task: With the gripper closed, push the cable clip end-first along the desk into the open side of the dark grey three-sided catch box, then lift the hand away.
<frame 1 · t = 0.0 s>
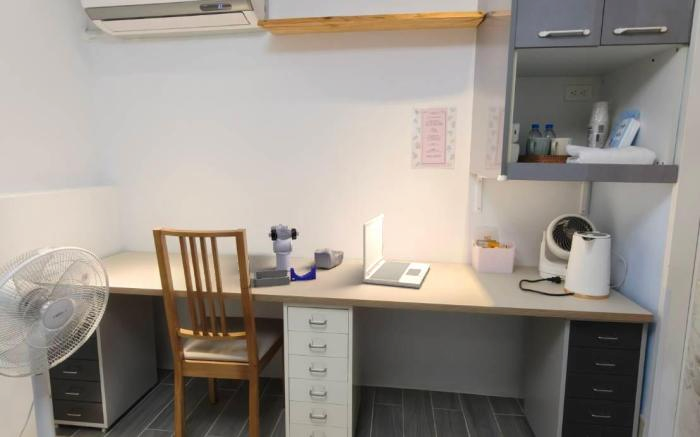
hand: (284, 235, 188), 22 cm above the table, tool horizontal, fingers open, 7 cm apart
laptop: (398, 276, 198), on the table
grey rounded block: (329, 265, 218), on the table
cable clip: (303, 279, 193), on the table
catch box: (271, 281, 190), on the table
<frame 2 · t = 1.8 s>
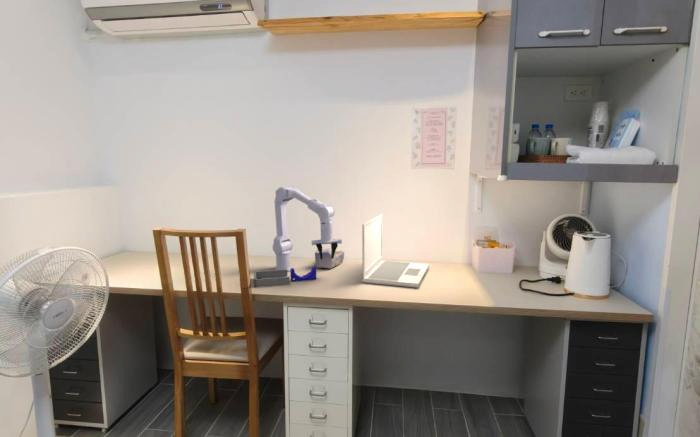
hand: (326, 258, 195), 9 cm above the table, tool pointing down, fingers open, 5 cm apart
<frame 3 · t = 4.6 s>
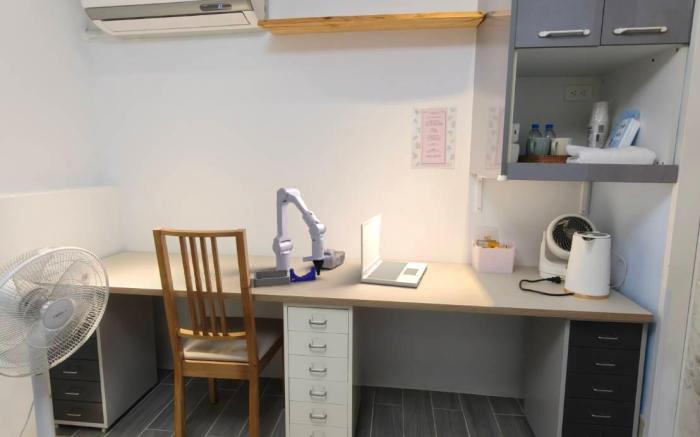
hand: (318, 275, 195), 1 cm above the table, tool pointing down, fingers closed
cable clip: (302, 280, 192), on the table, touching gripper
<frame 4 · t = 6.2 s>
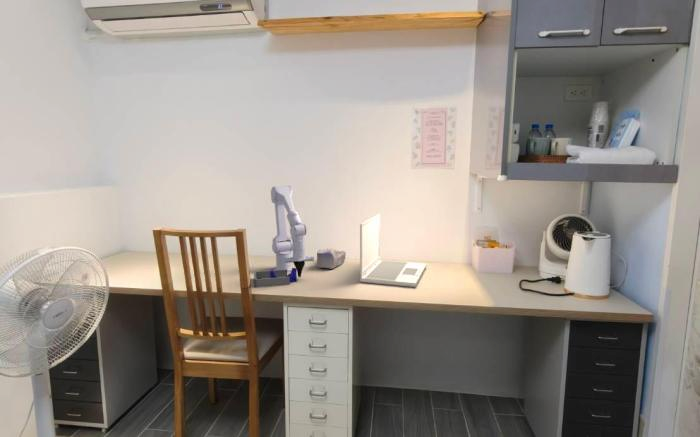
hand: (299, 276, 193), 1 cm above the table, tool pointing down, fingers closed
cable clip: (283, 282, 189), on the table, touching gripper
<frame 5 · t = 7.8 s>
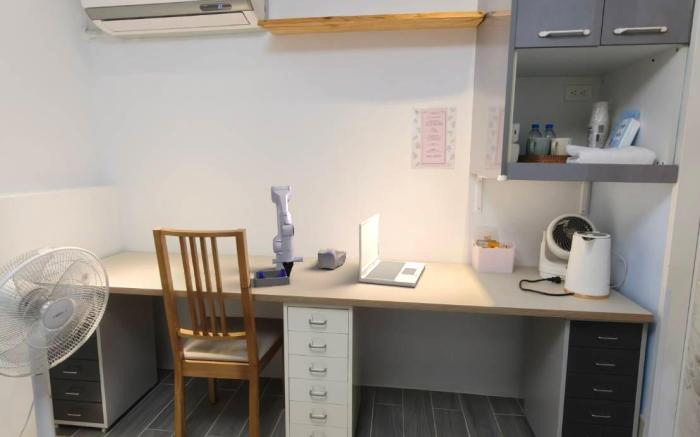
hand: (288, 277, 192), 1 cm above the table, tool pointing down, fingers closed
cable clip: (271, 283, 188), on the table, touching gripper
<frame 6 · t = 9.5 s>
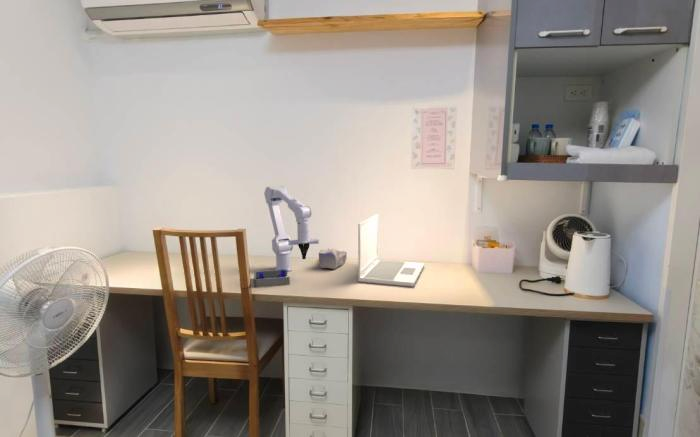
hand: (303, 258, 195), 9 cm above the table, tool pointing down, fingers closed
cable clip: (272, 283, 188), on the table
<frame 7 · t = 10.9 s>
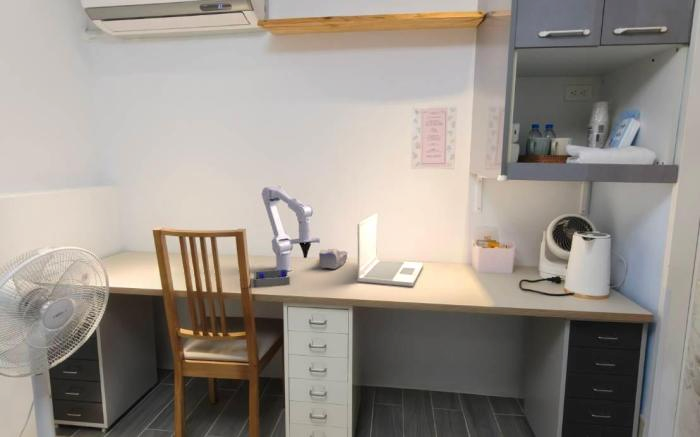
hand: (305, 257, 197), 9 cm above the table, tool pointing down, fingers closed
at the end: cable clip inside the target area (3.7 cm from its centre), on the table; cable clip moved 14.8 cm from its start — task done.
